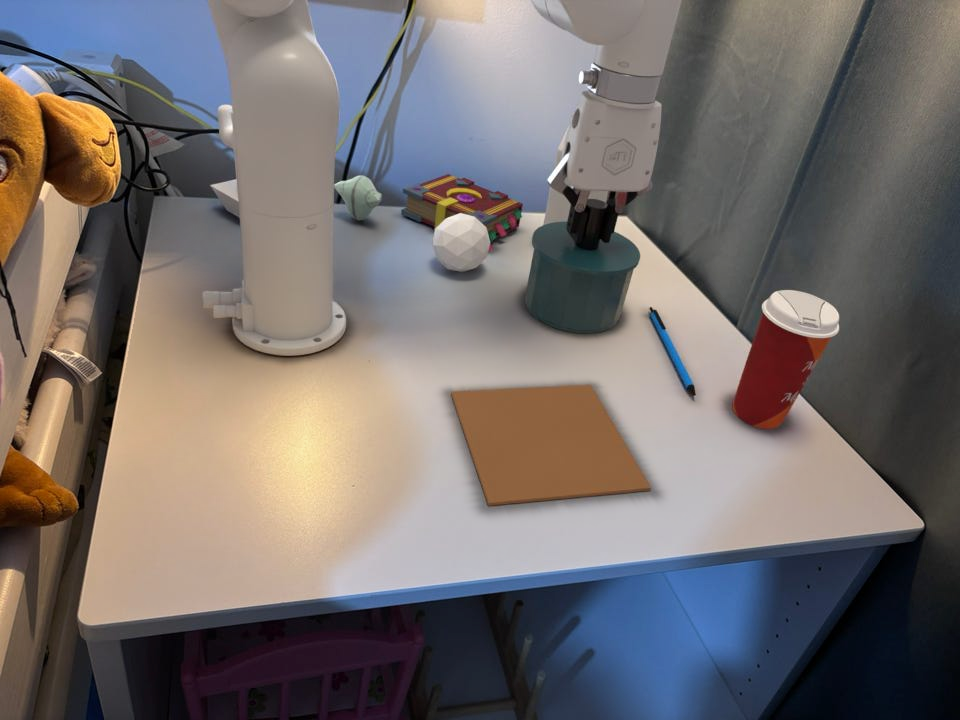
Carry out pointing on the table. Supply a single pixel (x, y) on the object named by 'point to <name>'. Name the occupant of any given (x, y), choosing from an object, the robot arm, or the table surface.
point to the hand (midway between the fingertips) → (588, 236)
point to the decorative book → (462, 204)
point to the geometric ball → (461, 242)
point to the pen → (672, 351)
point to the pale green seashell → (359, 196)
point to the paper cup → (783, 355)
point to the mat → (545, 444)
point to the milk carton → (558, 202)
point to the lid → (587, 246)
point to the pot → (574, 297)
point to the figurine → (229, 188)
